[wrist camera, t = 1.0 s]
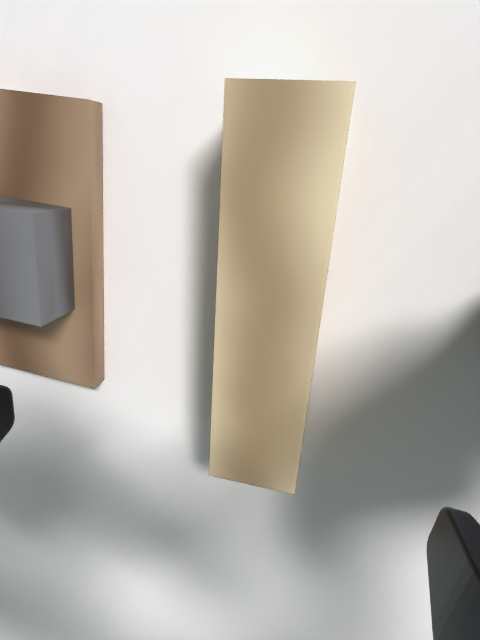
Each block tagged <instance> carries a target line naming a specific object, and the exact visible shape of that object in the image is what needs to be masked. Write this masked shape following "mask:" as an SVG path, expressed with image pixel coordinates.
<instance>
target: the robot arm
mask: <svg viewBox="0 0 480 640" xmlns="http://www.w3.org/2000/svg"><path fill="white" fill-rule="evenodd" d="M14 420H15V415H14V406H13V397H12V392H11V390H10V388H8V387H6V386H2V385H0V442H1V441H2V439H3V438H4V437H5V436H6V435H7V433H8V432H9V431H10V429H11V428H12V426H13V424H14ZM427 562H428V576H429V589H430V603H431V616H432V630H433V640H480V524H479V523H478V522H477V521H476V520H475V519H474V518H473V517H472V516H471V515H470V514H469V513H467V512H465V511H461V510H457V509H454V508H450V507H444V508H443V509H441V511H440V513H439V515H438V517H437V519H436V522H435V524H434V526H433V528H432V531H431V533H430V535H429V538H428V541H427Z"/></svg>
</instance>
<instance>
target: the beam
mask: <svg viewBox="0 0 480 640" xmlns="http://www.w3.org/2000/svg"><path fill="white" fill-rule="evenodd" d="M355 84H356V81H318V80H276V79H234V78H225V89H224V114H223V139H222V164H221V188H220V213H219V238H218V263H217V288H216V313H215V338H214V362H213V387H212V412H211V437H210V462H209V476H214V477H218V478H223V479H227V480H232V481H236V482H240V483H245V484H249V485H254V486H258V487H263V488H267V489H272V490H276V491H280V492H285V493H289V494H294V495H295V490H296V483H297V476H298V469H299V463H300V456H301V449H302V442H303V436H304V429H305V422H306V415H307V408H308V402H309V395H310V388H311V381H312V375H313V368H314V361H315V354H316V348H317V341H318V334H319V327H320V320H321V314H322V307H323V300H324V293H325V287H326V280H327V273H328V266H329V260H330V253H331V246H332V239H333V232H334V226H335V219H336V212H337V205H338V199H339V192H340V185H341V178H342V172H343V165H344V158H345V151H346V144H347V138H348V131H349V124H350V117H351V111H352V104H353V97H354V90H355Z"/></svg>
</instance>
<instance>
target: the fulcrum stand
mask: <svg viewBox="0 0 480 640" xmlns="http://www.w3.org/2000/svg"><path fill="white" fill-rule="evenodd" d="M0 365H4V366H8V367H12V368H16V369H20V370H24V371H28V372H32V373H36V374H40V375H43V376H47V377H51V378H55V379H59V380H63V381H67V382H71V383H75V384H79V385H83V386H87V387H90V388H95V387H96V386H98V385H99V384H100V383H101V382H102V381H103V380H104V291H103V156H102V103H99V102H96V101H92V100H88V99H80V98H71V97H63V96H55V95H47V94H39V93H30V92H22V91H14V90H6V89H0Z"/></svg>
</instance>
